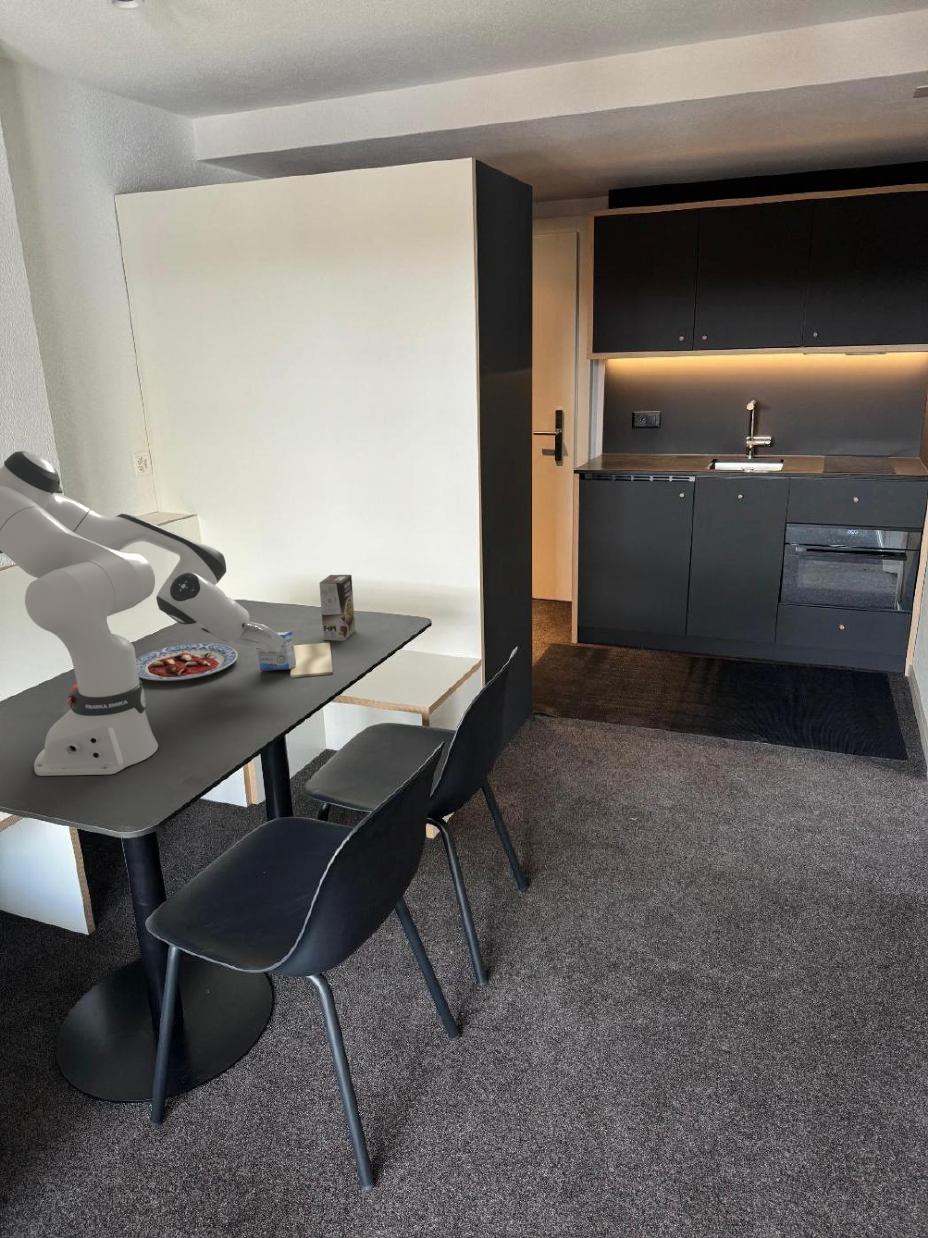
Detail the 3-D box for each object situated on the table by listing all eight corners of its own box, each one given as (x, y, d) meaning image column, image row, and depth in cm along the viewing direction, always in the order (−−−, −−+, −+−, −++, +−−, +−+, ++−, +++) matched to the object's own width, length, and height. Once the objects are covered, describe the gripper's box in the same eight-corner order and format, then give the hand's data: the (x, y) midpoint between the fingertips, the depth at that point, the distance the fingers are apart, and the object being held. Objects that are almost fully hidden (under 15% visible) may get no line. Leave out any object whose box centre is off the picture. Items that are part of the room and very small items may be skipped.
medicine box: (259, 671, 213) (254, 636, 212) (267, 666, 217) (262, 632, 216) (289, 669, 211) (284, 634, 210) (297, 665, 216) (292, 630, 214)
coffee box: (345, 641, 234) (341, 583, 229) (322, 640, 235) (318, 582, 230) (356, 630, 242) (352, 574, 237) (334, 629, 244) (329, 573, 239)
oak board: (290, 677, 209) (290, 675, 209) (291, 647, 230) (291, 645, 230) (332, 673, 211) (332, 671, 211) (329, 644, 232) (329, 642, 232)
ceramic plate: (156, 697, 201) (154, 684, 200) (114, 668, 220) (113, 657, 219) (257, 668, 217) (256, 657, 216) (210, 644, 236) (209, 633, 235)
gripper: (267, 616, 195) (302, 644, 206) (206, 603, 206) (242, 631, 217) (254, 641, 193) (290, 668, 204) (193, 626, 204) (230, 653, 215)
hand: (265, 649), depth 210 cm, fingers closed
